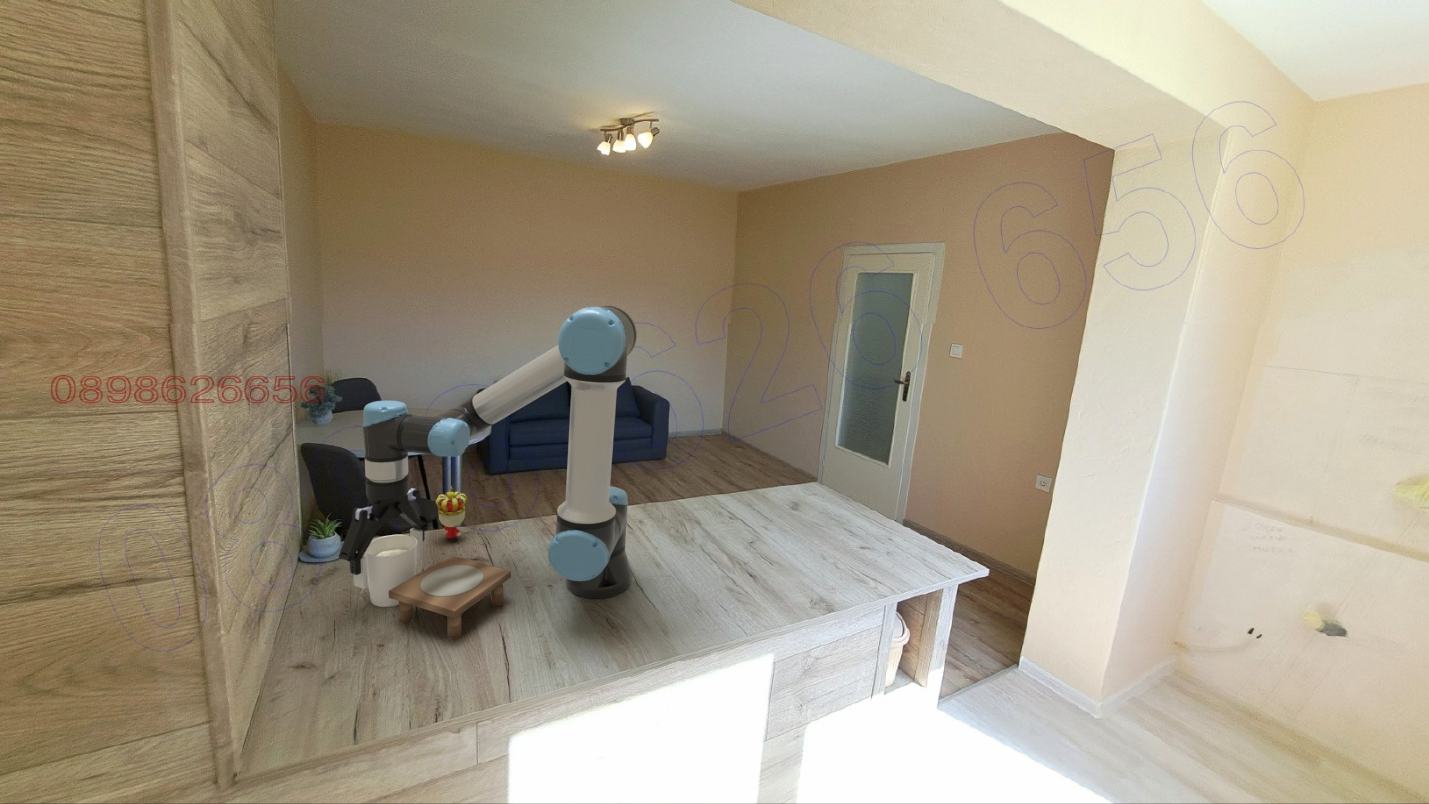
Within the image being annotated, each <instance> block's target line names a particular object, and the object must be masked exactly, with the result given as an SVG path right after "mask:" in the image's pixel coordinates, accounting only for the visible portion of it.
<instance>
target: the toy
mask: <svg viewBox="0 0 1429 804" xmlns="http://www.w3.org/2000/svg"><path fill="white" fill-rule="evenodd" d="M449 488H450V489H451V491H447V492H445V494H444V493H443V494H439V495H438V496H437V498H436V500H435V504H436V506H437V508H438V509H437V514H438V519H439V521H440V523H441V525H443V526H444V527H443V529H444V530H445V531H447V532H446V534H445V537H446V538H447V540H448V541H450V542H451V543H456V542H458V541H459V540H458V537H460V536H461V535H462V531H461V530H460V529H458V528H457V526H460V525H461V524H462V523H463V522H464V520H465V517H466V506H465V505H466V502H467V499H468V497H467V496H466V494H465V493H461V492H459V491H455V492H454V488H453V486H452V485H451V486H450V487H449ZM461 500H462V501H461Z"/></svg>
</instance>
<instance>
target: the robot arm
mask: <svg viewBox="0 0 1429 804" xmlns="http://www.w3.org/2000/svg"><path fill="white" fill-rule="evenodd" d="M559 329H560V330H559V332H558V337H557V345H556V346H554V347H552V348H551V349H549V350H548V351H546V352H544V353H543V354H541V355H539V356H537V357H536V358H534V359H533V360H530V361H529V362H528V363H526V364H524V365H522V366H521V367H520V368H517V369H516V370H514V371H512V372H511V373H510V374H508V375H506V376H504V377H503V378H502V379H499V380H498V381H495V383H493V384H491V385H490V386H488V387H486V388H485V389H483V390H482V391H479V393H476V394H475V395H473V396H472V397H469V398H468V399H465V401H463V402H461V403H459V404H458V405H456V406H455V407H452V408H450V409H446V410H445V411H443V412H440V413H438V414H434V415H432V416H427V415H426V416H425V415H417V414H412V413H410V414H409V410H408V407H407V405H406V403H405V402H403V401H400V400H399V401H398V400H376V401H372V402H370V403H367V404H366V405H365V406H364V408H363V413H362V414H363V418H362V419H363V422H362V431H363V443H364V470H365V473H364V475H365V477H366V479H365V495H366V498H367V500H368V504H367V506H366V507H363V508H359V507H355V508H354V509H353V510H352V516H351V517H352V520H351V522H350V525H349V527H348V530H347V533H346V535H345V538H344V541H343V542H342V546H341V549H340V551H339V554H338V559H341V560H343V561H346V562H349V572H350V574H352V575H353V586H354V587H357V588H360V589H362V590H365V589H367V588H369V587H368V580H367V560H366V557H364V553H365V552H366V550H367V548H368V547H369V545H370V543H371V541H373V540H374V538H375V535H377V533H378V531H379V529H380V528H383V526H384V525H385V523H388V522H390V521H391V520H393V519H398V518H399V517H401V518H403V520H405V521H406V522H408V523H409V525H411V526H412V528H410V529H409V531H410V532H409V536H413V537H415V538H416V539H417V542H418V544H417V559H419V560H421V559H423V558H424V552H423V551H424V546H423V545H424V541H425V531H428V530H429V528H430V527H429V525H428V524H431V523H433V518H432V516H431V513H429V510H428V509H427V507H426V505H425V504H424V502H423V500H422V498H421V490H420V489H416V488H413V487H410V483H409V482H410V481H409V476H408V474H409V453H413V454H422V455H423V454H424V455H429V456H437V457H442V458H443V457H459V456H461V455H463V454H464V453H465V450H466V449H467V448H468V447H469V443H470V439H471V438H473V437H474V436H476V435H477V436H478V435H479V434H481V433H482V432H484V431H486V430H487V429H488V428H490V427H492V426H493V425H494V424H496V423H498V422H499V421H502V420H503V419H505V418H506V417H508V416H510V415H512V414H513V413H515V412H516V411H518V410H520V409H521V408H524V407H526V406H527V405H529V404H530V403H532V402H534V401H535V400H537V399H538V398H540V397H542V396H544V395H546V394H548V393H549V392H550V391H552V390H555V389H556V388H558V387H559V386H561V385H563V384H565V383H566V382H568V383H569V384H570V386H571V390H570V391H571V392H570V393H571V395H570V407H569V408H570V410H569V411H570V412H569V426H568V428H569V431H568V446H567V447H568V449H567V452H568V453H567V466H566V468H567V469H566V484H565V500H564V501H563V502H562V503H561V504H559V506H557V511H556V524H555V526H556V527H555V529H556V530H555V535H554V537H552V539H551V541H550V544H549V547H548V551H547V555H548V556H547V557H548V561H549V564H550V565H551V566H552V567H551V568H553V569H554V571H556V573H558V574H559V575H560V576H561V577H563V578H564V579H565V584H566V589H568V590H569V591H570V592H571V593H572V594H574V595H577V596H578V597H581V598H587V599H605V598H606V599H607V598H611V597H615V596H617V595H619V594H622V593H623V592H625V591H626V590H627V589H628V588H629V587H630V585H631V583H632V569H631V565H630V562H629V559H628V555H627V552H626V543H627V541H626V537H627V536H626V535H627V522H628V521H627V519H628V518H627V517H628V506H629V501H628V494H627V492H626V491H625V490H623V489H622V488H619V487H616V486H611V477H612V462H613V447H614V435H615V434H614V432H615V423H616V422H615V421H616V420H615V419H616V407H617V406H616V405H617V393H618V392H617V391H618V388H619V387H620V386H621V385H622V384H624V383H625V382H626V377H627V364H628V356H629V355H630V354H631V353H632V351H633V350H634V347H635V345H636V342H637V338H638V335H637V333H638V332H637V331H638V330H637V327H636V324H635V321H634V320H633V319H632V317H631V316H630V314H628V313H627V312H626V311H624V310H623V309H621V308H619V307H617V306H614V305H613V306H612V305H601V306H588V307H584V308H581V309H579V310H577V311H575V312H574V313H572V314H571V315H570V316H568V317H567V318H566V320H564V322H563V324H562V326H561V327H560V328H559ZM407 502H408V503H409V504H410V506H411V507H412V509H413V512H412V510H410V508H408V507H407V506H406V504H407ZM414 513H415V514H414ZM374 520H375V521H374Z"/></svg>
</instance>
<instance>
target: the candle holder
mask: <svg viewBox="0 0 1429 804" xmlns="http://www.w3.org/2000/svg"><path fill="white" fill-rule="evenodd" d="M417 544H418V542H417V539H416V538H415V537H413V536H410V534H392V535H391V534H390V535H385V536H381V537H377V538H375V539H373V540H372V541H371V543H370V545H369V547H368V548H367V550H366V552H365V553H364V555H363V557H366V560H367V584H368V587H367V588H368V593H369V599H370V602H371V604H372V605H374V606H376V607H378V608H379V607H381V608H390V607H391V608H392V607H395V606H396V607H397V606H399V601H398V600H395V599H391V598H389V590H391V589H393V588H394V587H396V586H398V585H400V584H401V583H403V582H405V581H407V580H408V579H410V578H412V577H414V576H415V575H417V559H418V558H417Z"/></svg>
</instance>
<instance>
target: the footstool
mask: <svg viewBox="0 0 1429 804" xmlns="http://www.w3.org/2000/svg"><path fill="white" fill-rule="evenodd" d="M510 579H512V571H511V570H507V569H505V568H501V567H500V568H499V567H497V566H493V565H488V564H485V563H482V562H478V561H475V560H471V559H467V558H464V557H459V556H456V555H452V554H450V555H449V556H446V557H445V558H444V559H441V560H440V561H438V562H436V563H434V564H433V565H431V566H429V567H428V568H426V569H424V570H423V571H420V572H419V573H416V575H415V576H414V577H412V578H410V579H408V580H407V581H405V582H403V583H401V584H400V585H398V586H396V587H394V588H393V589H391V590H389V598H391V599H395V600H398V601H399V605H398V610H399V611H398V612H399V614H398V616H399V623H401V624H408V623H410V622H412V621H413V620H414V606H415V607H418V608H421V609H424V610H427V611H429V612H434V613H437V614H439V615H443V616H446V617H447V618H446V619H447V620H446V621H447V622H446V623H447V638H448V639H449V640H456V639H459V638H461V636H462V614H463V613H464V612H466V611H467V610H468V609H470V608H471V607H472V606H474V605H475V604H477V603H478V602H479V601H481V600H482V599H483V598H485V597H486V596H488V595H489V594H490V604H491V606H493V607H499V606H501V605H503V603H504V583H505V582H507V581H508V580H510Z"/></svg>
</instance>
